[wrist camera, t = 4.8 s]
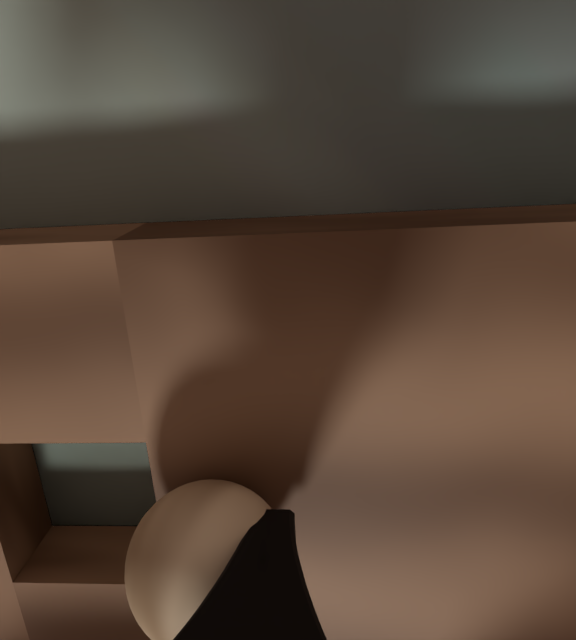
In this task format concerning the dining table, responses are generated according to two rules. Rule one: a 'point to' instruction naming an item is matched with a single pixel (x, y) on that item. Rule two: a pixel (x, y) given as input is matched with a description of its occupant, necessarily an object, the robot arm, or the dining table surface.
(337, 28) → the dining table surface
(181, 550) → the ball
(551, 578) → the board
